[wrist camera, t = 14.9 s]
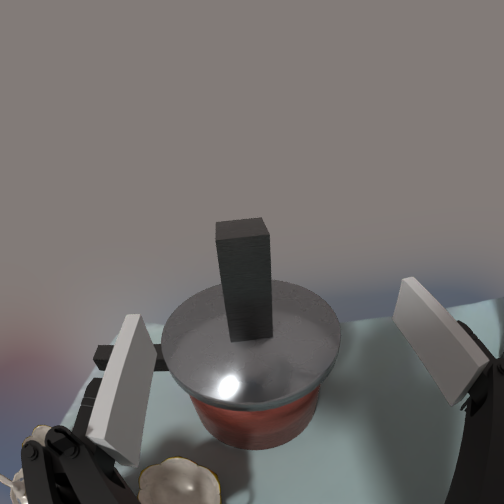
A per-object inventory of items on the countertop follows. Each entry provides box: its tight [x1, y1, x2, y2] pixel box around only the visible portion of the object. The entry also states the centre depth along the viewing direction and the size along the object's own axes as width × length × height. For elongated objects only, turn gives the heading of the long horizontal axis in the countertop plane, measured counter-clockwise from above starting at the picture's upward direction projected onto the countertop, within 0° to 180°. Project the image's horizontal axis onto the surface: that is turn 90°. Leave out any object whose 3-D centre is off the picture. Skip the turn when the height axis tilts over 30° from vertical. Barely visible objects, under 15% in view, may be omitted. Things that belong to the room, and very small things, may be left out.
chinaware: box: [0, 425, 222, 504], centre depth 13 cm, size 28×17×17 cm, turn 96°
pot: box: [93, 344, 321, 450], centre depth 29 cm, size 27×17×12 cm, turn 97°
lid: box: [161, 218, 341, 412], centre depth 24 cm, size 18×18×12 cm
